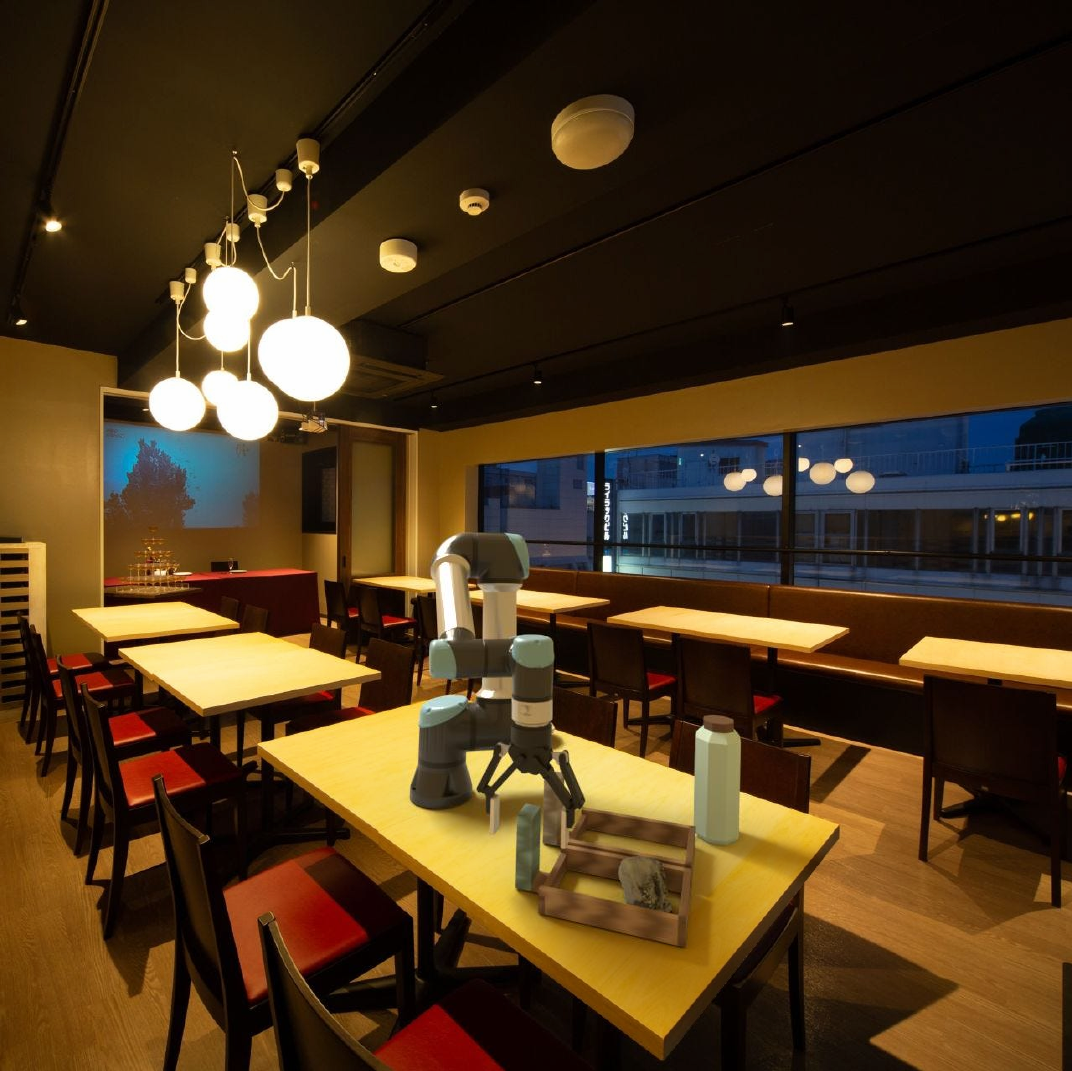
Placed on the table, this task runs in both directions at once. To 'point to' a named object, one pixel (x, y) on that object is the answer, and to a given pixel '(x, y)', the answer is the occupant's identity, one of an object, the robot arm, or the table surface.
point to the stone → (644, 883)
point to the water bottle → (717, 781)
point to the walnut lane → (591, 907)
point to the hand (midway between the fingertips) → (528, 838)
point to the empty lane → (616, 829)
